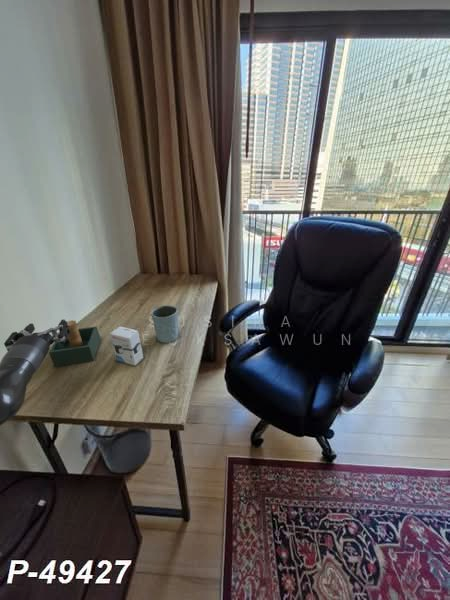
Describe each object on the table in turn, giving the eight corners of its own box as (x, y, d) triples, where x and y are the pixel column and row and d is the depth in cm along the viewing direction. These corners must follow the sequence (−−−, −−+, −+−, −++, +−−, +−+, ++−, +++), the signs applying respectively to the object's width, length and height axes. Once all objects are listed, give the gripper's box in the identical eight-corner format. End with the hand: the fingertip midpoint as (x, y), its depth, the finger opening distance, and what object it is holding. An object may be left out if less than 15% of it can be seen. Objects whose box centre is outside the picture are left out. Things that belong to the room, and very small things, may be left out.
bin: (54, 367, 87) (48, 352, 84) (66, 344, 99) (61, 331, 96) (93, 360, 90) (89, 346, 87) (100, 339, 102) (96, 326, 99)
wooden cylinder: (71, 354, 92) (61, 327, 87) (74, 348, 95) (64, 321, 90) (83, 352, 93) (74, 325, 88) (85, 346, 96) (77, 319, 91)
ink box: (115, 360, 90) (108, 333, 85) (125, 352, 94) (119, 325, 89) (135, 366, 87) (128, 338, 82) (144, 357, 91) (138, 330, 86)
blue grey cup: (157, 346, 97) (152, 319, 92) (153, 332, 106) (149, 307, 100) (182, 340, 101) (179, 314, 95) (177, 327, 109) (174, 303, 104)
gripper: (52, 340, 62) (71, 310, 76) (-16, 350, 58) (16, 316, 72) (61, 364, 65) (77, 330, 79) (-3, 374, 62) (26, 338, 76)
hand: (48, 324), depth 76 cm, fingers open, 8 cm apart
